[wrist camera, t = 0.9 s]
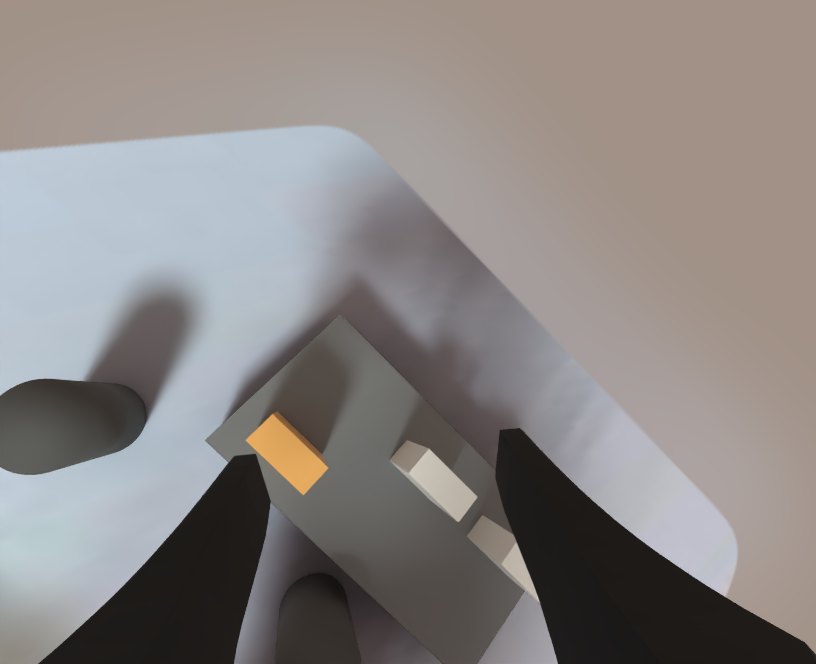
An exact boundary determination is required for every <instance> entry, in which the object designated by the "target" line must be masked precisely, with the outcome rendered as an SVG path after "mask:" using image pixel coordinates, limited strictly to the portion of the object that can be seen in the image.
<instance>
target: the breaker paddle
mask: <svg viewBox="0 0 816 664" xmlns="http://www.w3.org/2000/svg"><path fill="white" fill-rule="evenodd" d="M246 441H247V442H248V443H249V444H250V445H251V446H252V447H253V448H254V449H255V450H256V451H257V452H258V453H259V454H260V455H261V456H262V457H263V458H265V459H266V460H267V461H268V462H269V463H270V464H271V465H272V466H273V467H274V468H275V469H276V470H277V471H278V472H279V473H280V474H281V475H282V476H283V477H285V478H286V479H287V480H288V481H289V482H290V483H291V484H292V485H293V486H294V487H295V488H296V489H297V490H298V491H299V492H300V493H301V494H302V495H304V494H305V493H306V492H307V491H308V490H309V489H310V488H311V487H312V486H313V484H314V483H315V482H316V481H317V480H318V479H319V478H320V477H321V476H322V475H323V474H324V472H325V471H326V470H327V469H328V465H327V463H326V461H325V458H324V456H323V455H322V454H321V453H320V452H319V451H318V450H317V449H316V448H315V447H314V446H313V445H312V444H311V443H310V442H309V441H308V440H307V439H306V438H305V437H304V436H303V435H302V434H301V433H300V432H298V431H297V430H296V429H295V428H294V427H293V426H292V425H291V424H290V423H289V422H288V421H287V420H286V419H285V418H284V417H283V416H282V415H281V414H280V413H279V412H278V411H277V412H275V413H273V414H272V415H271V416H270V417H269V418H268V419H267V420H266V421H265V422H264V423H263V424H262V425H261V426H260V427H259V428H258V429H257V430H256V431H255V432H254V433H252V434H251V435H250V436H249V437H248V438H247V439H246Z"/></svg>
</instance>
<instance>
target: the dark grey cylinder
mask: <svg viewBox="0 0 816 664" xmlns="http://www.w3.org/2000/svg"><path fill="white" fill-rule="evenodd" d="M145 422H146V408H145V405H144V403H143V400H142V399H141V397H140V396H139V395H138V394H137V393H136V392H135V391H133V390H132V389H130V388H128V387H126V386H123V385H119V384H110V383H97V382H84V381H71V380H58V379H37V380H31V381H28V382H24V383H21V384H19V385H17V386H15V387H13V388H11V389H9V390H8V391H6V392H5V393H3V394H2V395H1V396H0V467H1V468H3V469H5V470H7V471H10V472H13V473H17V474H24V475H36V474H43V473H47V472H51V471H54V470H58V469H61V468H65V467H68V466H71V465H75V464H78V463H81V462H85V461H88V460H91V459H95V458H98V457H102V456H105V455H108V454H112V453H115V452H118V451H120V450H122V449H124V448H126V447H128V446H129V445H130V444H132V443H133V442H134V441H135V440H136V439H137V438H138V436H139V435H140V433H141V432H142V430H143V428H144V425H145Z"/></svg>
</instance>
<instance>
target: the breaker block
mask: <svg viewBox="0 0 816 664" xmlns="http://www.w3.org/2000/svg"><path fill="white" fill-rule="evenodd" d="M277 411H278V412H279V413H280V414H281V415H282V416H283V417H284V418H285V419H286V420H287V421H288V422H289V423H290V424H291V425H292V426H293V427H294V428H295V429H296V430H297V431H298V432H300V433H301V434H302V435H303V436H304V437H305V438H306V439H307V440H308V441H309V442H310V443H311V444H312V445H313V446H314V447H315V448H316V449H317V450H318V451H319V452H320V453H321V454H322V455H323V456H324V458H325V461H326V463H327V465H328V469H327V470H326V471H325V472H324V474H323V475H322V476H321V477H320V478H319V479H318V480H317V481H316V482H315V483H314V484H313V486H312V487H311V488H310V489H309V490H308V491H307V492H306V493H305V494H304V495H302V494H301V493H300V492H299V491H298V490H297V489H296V488H295V487H294V486H293V485H292V484H291V483H290V482H289V481H288V480H287V479H286V478H285V477H283V476H282V475H281V474H280V473H279V472H278V471H277V470H276V469H275V468H274V467H273V466H272V465H271V464H270V463H269V462H268V461H267V460H266V459H265V458H263V457H262V456H261V455H260V454H259V453H258V452H257V451H256V450H255V449H254V448H253V447H252V446H251V445H250V444H249V443H248V442H247V441H246V439H247V438H248V437H249V436H250V435H251V434H252V433H254V432H255V431H256V430H257V429H258V428H259V427H260V426H261V425H262V424H263V423H264V422H265V421H266V420H267V419H268V418H269V417H270V416H271V415H272V414H273V413H275V412H277ZM205 441H206V442H207V443H208V444H209V445H210V446H211V447H212V448H213V449H215V450H216V451H217V452H218V453H219V454H220V455H221V456H222V457H223V458H224V459H225V460H226V461H227V462H228V463H229V462H230V460H231V459H232V458H233V457H234V456H237V455H247V454H256V455H257V458H258V462H259V465H260V468H261V471H262V474H263V478H264V481H265V484H266V487H267V490H268V494H269V497H270V500H271V503H272V504H273V505H274V506H275V507H276V508H277V509H278V510H280V511H281V512H282V513H283V514H284V515H285V516H286V517H287V518H288V519H289V520H290V521H291V522H292V523H293V524H294V525H296V526H297V527H298V528H299V529H300V530H301V531H302V532H303V533H304V534H305V535H306V536H307V537H308V538H309V539H310V540H311V541H313V542H314V543H315V544H316V545H317V546H318V547H319V548H320V549H321V550H322V551H323V552H324V553H325V554H326V555H327V556H329V557H330V558H331V559H332V560H333V561H334V562H335V563H336V564H337V565H338V566H339V567H340V568H341V569H342V570H343V571H345V572H346V573H347V574H348V575H349V576H350V577H351V578H352V579H353V580H354V581H355V582H356V583H357V584H358V585H359V586H361V587H362V588H363V589H364V590H365V591H366V592H367V593H368V594H369V595H370V596H371V597H372V598H373V599H374V600H375V601H376V602H378V603H379V604H380V605H381V606H382V607H383V608H384V609H385V610H386V611H387V612H388V613H389V614H390V615H391V616H392V617H394V618H395V619H396V620H397V621H398V622H399V623H400V624H401V625H402V626H403V627H404V628H405V629H406V630H407V631H408V632H410V633H411V634H412V635H413V636H414V637H415V638H416V639H417V640H418V641H419V642H420V643H421V644H422V645H423V646H424V647H426V648H427V649H428V650H429V651H430V652H431V653H432V654H433V655H434V656H435V657H436V658H437V659H438V660H439V661H440V662H441V663H443V664H477V663H478V662H479V660H480V659H481V657H482V656H483V654H484V653H485V651H486V650H487V648H488V646H489V645H490V643H491V642H492V640H493V639H494V637H495V636H496V634H497V633H498V631H499V630H500V628H501V626H502V625H503V623H504V622H505V620H506V619H507V617H508V616H509V614H510V613H511V611H512V610H513V608H514V607H515V605H516V603H517V602H518V600H519V599H520V597H521V596H522V594H523V593H524V591H526V592H527V593H528V594H529V595H530V596H532V597H533V598H534V599H535V600H536V601H537V602H539V603H540V601H539V599H538V596H537V593H536V590H535V587H534V585H533V582H532V580H531V577H530V575H529V572H528V570H527V567H526V565H525V562H524V560H523V557H522V555H521V552H520V550H519V547H518V545H517V542H516V540H515V537H514V535H513V532H512V530H511V527H510V525H509V522H508V519H507V517H506V514H505V512H504V508H503V505H502V501H501V498H500V494H499V490H498V487H497V483H496V479H495V474H496V470H495V469H494V468H493V467H492V466H491V465H490V464H489V463H488V462H487V461H486V460H485V459H484V458H483V457H482V456H481V455H480V454H479V453H478V452H477V451H476V450H475V449H474V448H473V447H472V446H471V445H470V444H469V443H468V442H467V441H466V440H465V439H464V438H463V437H462V436H461V435H460V434H459V433H458V432H457V431H456V430H455V429H454V428H453V427H452V426H451V425H450V424H449V423H448V422H447V421H446V420H445V419H444V418H443V417H442V416H441V415H440V414H439V413H438V412H437V411H436V410H435V409H434V408H433V407H432V406H431V405H430V404H429V403H428V402H427V401H426V400H425V399H424V398H423V397H422V396H421V395H420V394H419V393H418V392H417V391H416V390H415V389H414V388H413V387H412V386H411V385H410V384H409V383H408V382H407V381H406V380H405V379H404V378H403V377H402V376H401V375H400V374H399V373H398V372H397V371H396V370H395V369H394V368H393V367H392V366H391V365H390V364H389V363H388V362H387V361H386V360H385V359H384V358H383V357H382V356H381V355H380V354H379V353H378V352H377V350H376V349H375V348H374V347H373V346H372V345H371V344H370V343H369V342H368V341H367V340H366V339H365V338H364V337H363V336H362V335H361V334H360V333H359V332H358V331H357V330H356V329H355V328H354V327H353V326H352V325H351V324H350V323H349V322H348V321H347V320H346V319H345V318H344V317H343V316H342V315H341V314H340V315H339V316H338V317H337V318H335V319H334V320H333V321H332V322H331V323H330V324H329V325H328V326H327V327H326V328H325V329H324V330H323V331H322V332H320V333H319V334H318V335H317V336H316V337H315V338H314V339H313V340H312V341H311V342H310V343H309V344H308V345H307V346H305V347H304V348H303V349H302V350H301V351H300V352H299V353H298V354H297V355H296V356H295V357H294V358H293V359H292V360H290V361H289V362H288V363H287V364H286V365H285V366H284V367H283V368H282V369H281V370H280V371H279V372H278V373H277V374H275V375H274V376H273V377H272V378H271V379H270V380H269V381H268V382H267V383H266V384H265V385H264V386H263V387H262V388H260V389H259V390H258V391H257V392H256V393H255V394H254V395H253V396H252V397H251V398H250V399H249V400H248V401H246V402H245V403H244V404H243V405H242V406H241V407H240V408H239V409H238V410H237V411H236V412H235V413H234V414H233V415H231V416H230V417H229V418H228V419H227V420H226V421H225V422H224V423H223V424H222V425H221V426H220V427H219V428H218V429H216V430H215V431H214V432H213V433H212V434H211V435H210V436H209V437H208V438H207V439H206V440H205Z"/></svg>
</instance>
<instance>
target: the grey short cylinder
mask: <svg viewBox="0 0 816 664" xmlns="http://www.w3.org/2000/svg"><path fill="white" fill-rule="evenodd" d="M275 664H362V663H361V657H360V653H359V649H358V644H357V640H356V636H355V632H354V628H353V624H352V619H351V615H350V611H349V607H348V603H347V599H346V595H345V592H344V589H343V587H342V586H341V584H340V583H339V582H338V581H337V580H336V579H335V578H333V577H332V576H329V575H327V574H321V573H316V574H310V575H307V576H305V577H302V578H301V579H299V580H298V581H296V582H295V583H294V584H293V585H292V586H291V587H290V588H289V589H288V591H287V592H286V594H285V595H284V598H283V600H282V602H281V605H280V610H279V622H278V633H277V644H276V655H275Z"/></svg>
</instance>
